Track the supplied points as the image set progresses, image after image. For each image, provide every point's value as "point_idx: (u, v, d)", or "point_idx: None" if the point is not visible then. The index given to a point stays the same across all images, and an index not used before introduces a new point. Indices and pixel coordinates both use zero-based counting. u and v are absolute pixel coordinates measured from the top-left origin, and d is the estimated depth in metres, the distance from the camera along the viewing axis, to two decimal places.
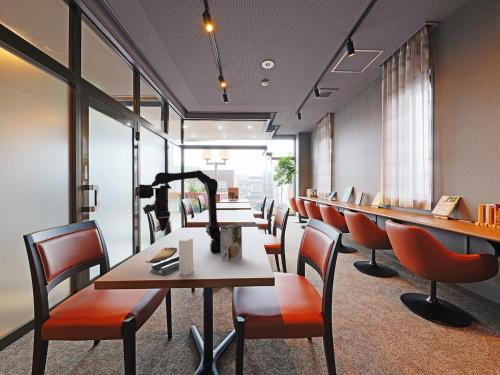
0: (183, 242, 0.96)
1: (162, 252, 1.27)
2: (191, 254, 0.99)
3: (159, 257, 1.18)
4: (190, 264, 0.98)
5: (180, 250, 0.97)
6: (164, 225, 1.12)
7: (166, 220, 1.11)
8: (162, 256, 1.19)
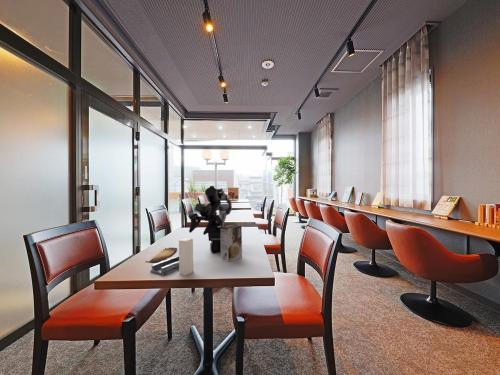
0: (183, 242, 0.96)
1: (162, 252, 1.27)
2: (191, 254, 0.99)
3: (159, 257, 1.18)
4: (190, 264, 0.98)
5: (180, 250, 0.97)
6: (209, 230, 1.11)
7: (213, 227, 1.12)
8: (162, 256, 1.19)
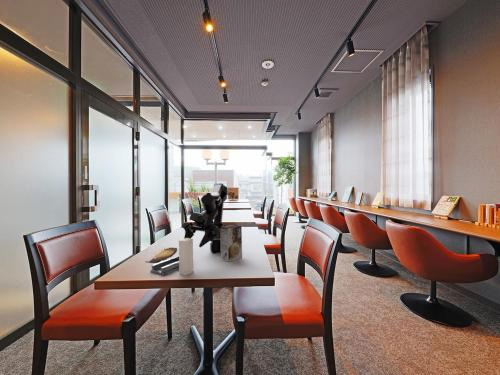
0: (183, 242, 0.96)
1: (162, 252, 1.27)
2: (191, 254, 0.99)
3: (159, 257, 1.18)
4: (190, 264, 0.98)
5: (180, 250, 0.97)
6: (205, 242, 1.01)
7: (210, 238, 1.02)
8: (162, 256, 1.19)
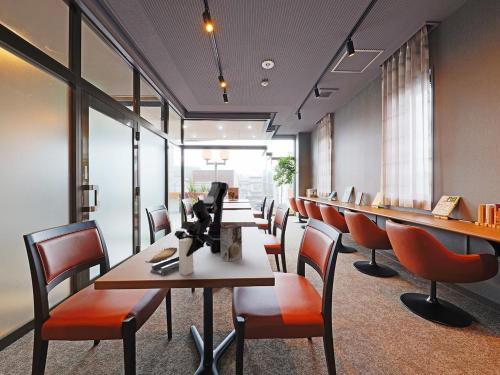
0: (183, 242, 0.96)
1: (162, 252, 1.27)
2: (191, 254, 0.99)
3: (159, 257, 1.18)
4: (190, 264, 0.98)
5: (180, 250, 0.97)
6: (193, 251, 0.98)
7: (198, 247, 1.00)
8: (162, 256, 1.19)
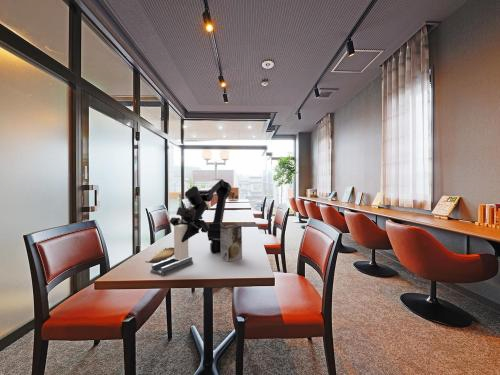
0: (178, 228, 0.97)
1: (162, 252, 1.27)
2: (186, 240, 0.99)
3: (159, 257, 1.18)
4: (185, 250, 0.99)
5: (175, 236, 0.98)
6: (188, 237, 0.99)
7: (193, 233, 1.00)
8: (162, 256, 1.19)
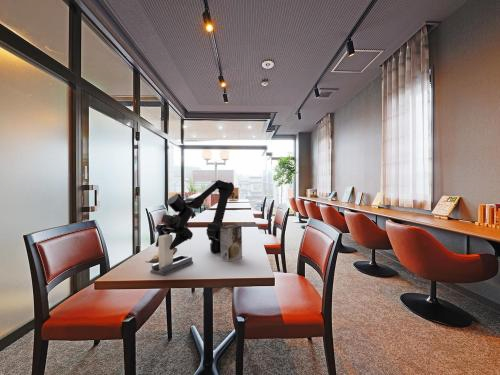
0: (162, 238, 0.99)
1: None
2: (170, 250, 1.02)
3: None
4: (169, 260, 1.01)
5: (159, 246, 1.00)
6: (176, 244, 1.00)
7: (181, 241, 1.01)
8: None
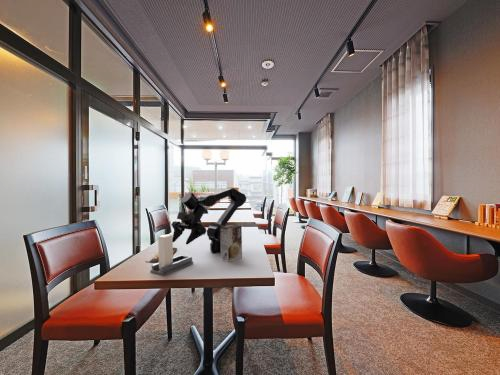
0: (162, 238, 0.99)
1: None
2: (170, 250, 1.02)
3: None
4: (169, 260, 1.01)
5: (159, 246, 1.00)
6: (192, 239, 1.07)
7: (196, 236, 1.09)
8: None
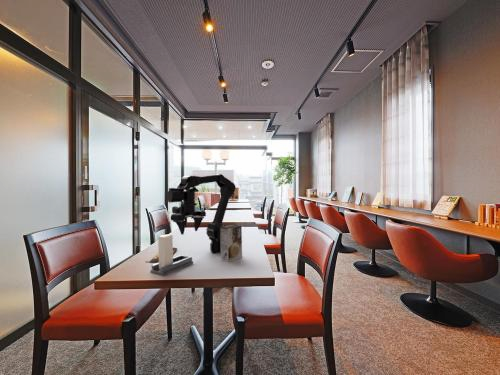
0: (162, 238, 0.99)
1: None
2: (170, 250, 1.02)
3: None
4: (169, 260, 1.01)
5: (159, 246, 1.00)
6: (181, 229, 1.11)
7: (182, 224, 1.10)
8: None
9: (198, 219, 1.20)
